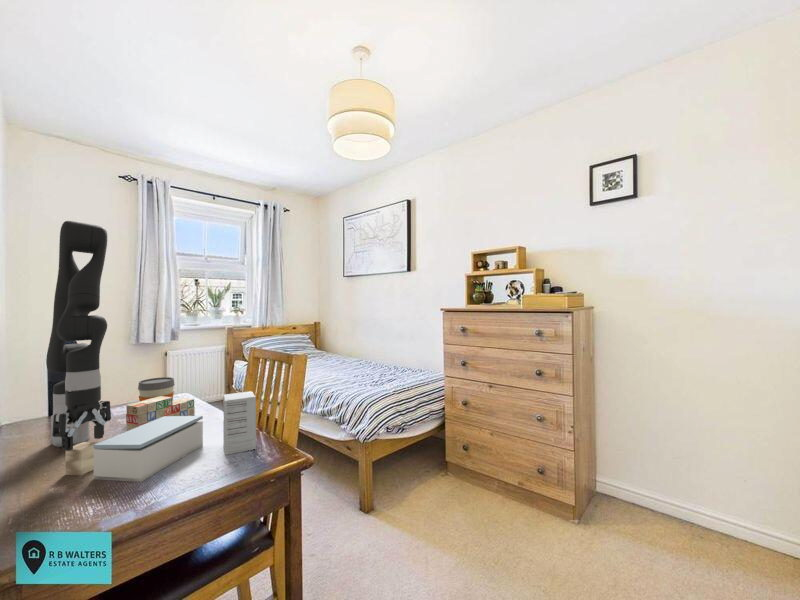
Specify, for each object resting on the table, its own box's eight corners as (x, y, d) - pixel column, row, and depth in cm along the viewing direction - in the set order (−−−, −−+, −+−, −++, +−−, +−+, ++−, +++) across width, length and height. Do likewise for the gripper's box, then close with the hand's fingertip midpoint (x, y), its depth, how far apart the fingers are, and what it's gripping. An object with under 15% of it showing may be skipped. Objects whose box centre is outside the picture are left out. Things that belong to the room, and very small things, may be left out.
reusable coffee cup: (146, 413, 153) (146, 378, 153) (179, 410, 156) (179, 376, 156) (132, 422, 141) (131, 384, 141) (167, 419, 144) (167, 382, 144)
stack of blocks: (183, 420, 143) (183, 390, 143) (195, 422, 140) (194, 391, 140) (126, 440, 123) (125, 404, 123) (138, 442, 120) (137, 406, 121)
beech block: (65, 474, 98) (65, 449, 98) (83, 466, 103) (83, 441, 103) (81, 475, 97) (81, 449, 97) (99, 467, 102) (99, 442, 102)
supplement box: (256, 449, 114) (256, 396, 114) (224, 455, 109) (224, 400, 109) (253, 439, 122) (252, 390, 122) (223, 445, 117) (222, 393, 118)
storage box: (93, 479, 95) (93, 449, 95) (164, 443, 119) (164, 419, 119) (140, 482, 93) (140, 451, 93) (202, 445, 117) (202, 421, 117)
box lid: (93, 448, 95) (93, 444, 95) (164, 419, 119) (164, 416, 119) (140, 448, 93) (140, 444, 93) (202, 418, 117) (202, 415, 117)
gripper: (96, 380, 108) (96, 434, 108) (43, 392, 94) (44, 454, 94) (118, 381, 107) (118, 435, 107) (68, 392, 93) (69, 455, 93)
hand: (83, 444), depth 100 cm, fingers open, 8 cm apart
